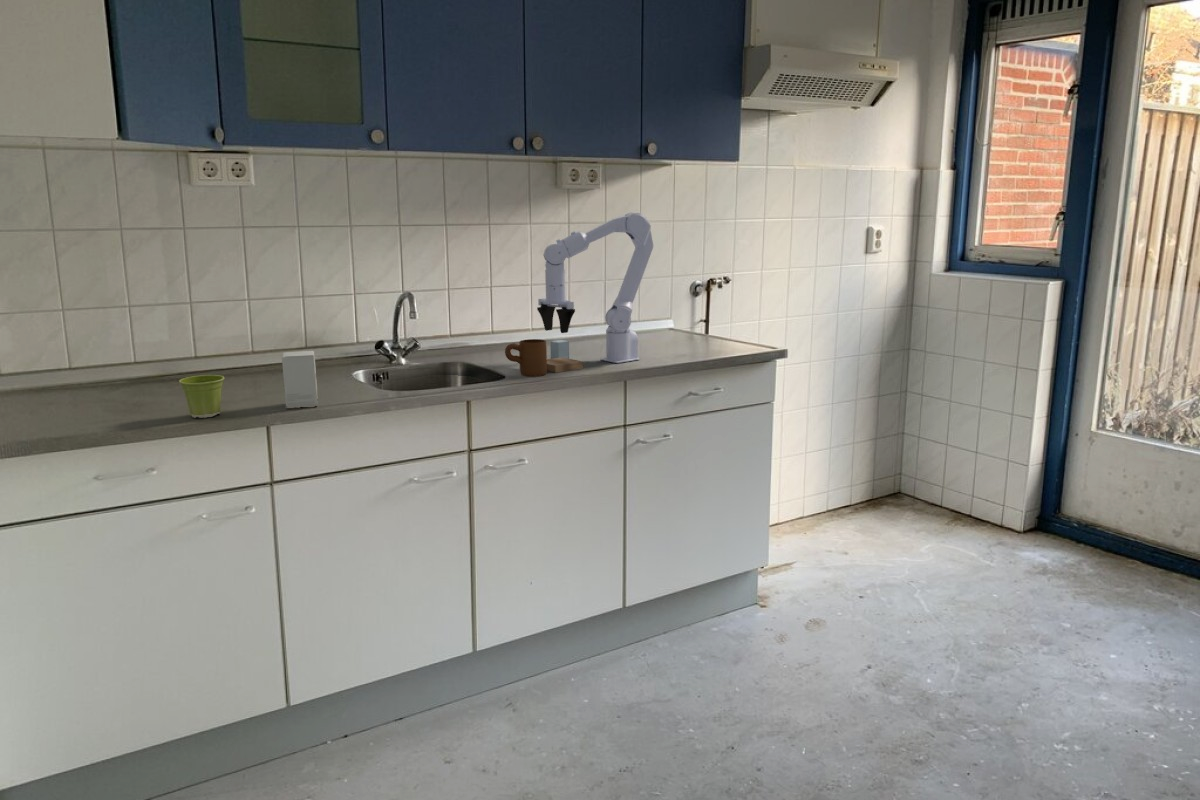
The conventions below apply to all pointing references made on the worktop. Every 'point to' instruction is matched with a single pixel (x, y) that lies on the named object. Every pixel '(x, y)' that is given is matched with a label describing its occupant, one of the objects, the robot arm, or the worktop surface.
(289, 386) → the supplement box
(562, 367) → the base
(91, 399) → the worktop surface
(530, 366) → the mug
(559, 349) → the block
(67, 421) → the worktop surface
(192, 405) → the plant pot
